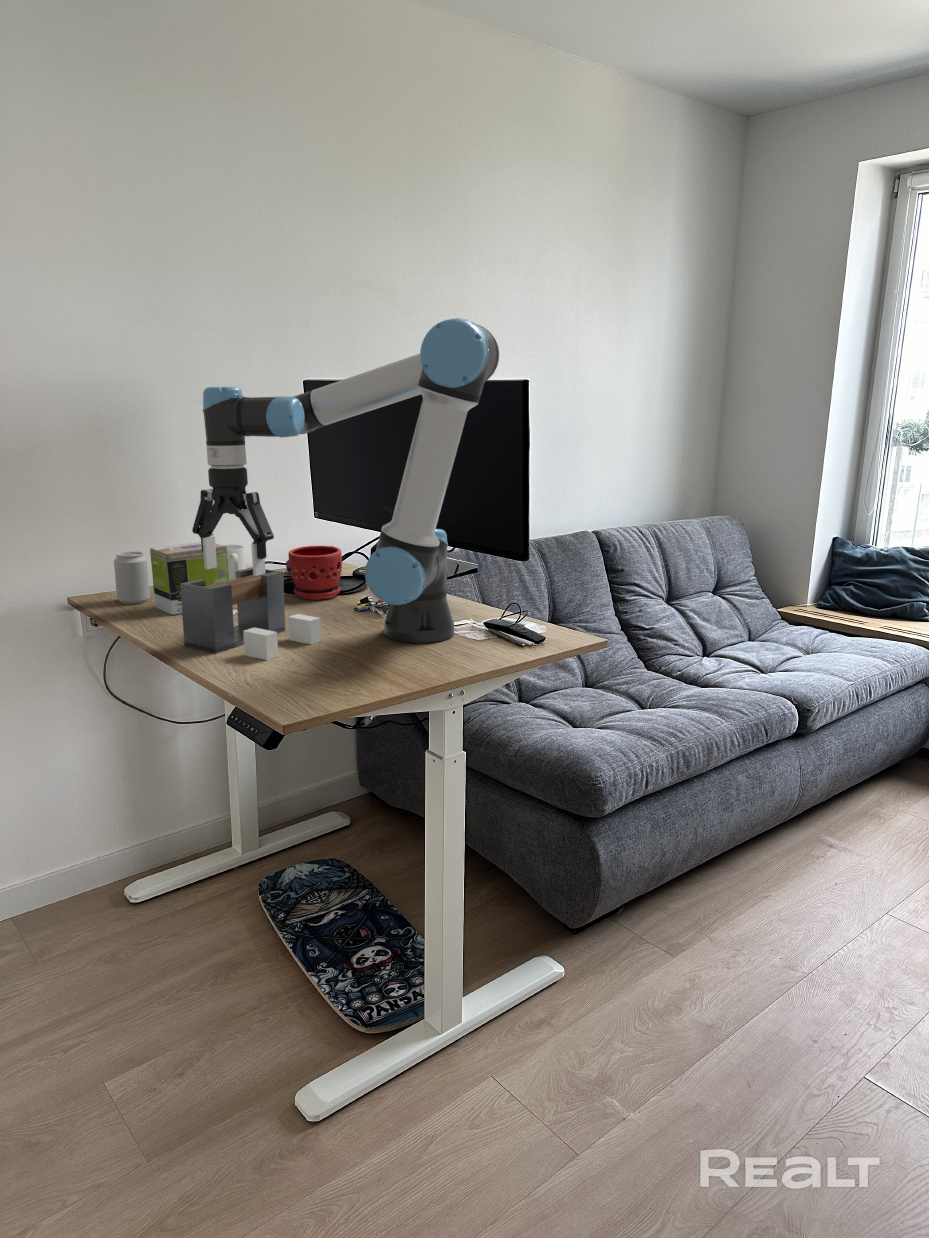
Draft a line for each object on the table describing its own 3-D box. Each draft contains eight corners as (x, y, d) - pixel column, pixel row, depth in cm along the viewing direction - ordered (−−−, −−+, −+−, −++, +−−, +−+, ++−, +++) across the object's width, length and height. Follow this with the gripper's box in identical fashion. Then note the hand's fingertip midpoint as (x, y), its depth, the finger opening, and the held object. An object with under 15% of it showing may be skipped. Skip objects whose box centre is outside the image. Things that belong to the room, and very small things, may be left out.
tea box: (213, 598, 216) (209, 540, 213) (231, 606, 209) (228, 545, 205) (153, 607, 207) (149, 546, 203) (171, 616, 200) (166, 552, 196)
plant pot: (293, 590, 226) (292, 545, 223) (344, 590, 227) (343, 545, 224) (286, 602, 214) (284, 554, 211) (340, 602, 215) (339, 554, 212)
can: (131, 606, 207) (126, 557, 204) (110, 602, 211) (106, 553, 208) (156, 600, 214) (153, 552, 211) (136, 596, 217) (132, 549, 214)
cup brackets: (285, 630, 189) (283, 571, 186) (215, 653, 172) (212, 589, 169) (255, 624, 193) (252, 567, 190) (184, 646, 176) (180, 583, 173)
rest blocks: (320, 641, 182) (320, 617, 180) (267, 660, 168) (266, 635, 167) (298, 636, 184) (297, 613, 183) (244, 655, 171) (243, 630, 170)
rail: (268, 595, 186) (267, 576, 185) (212, 610, 173) (211, 590, 172) (254, 592, 188) (253, 574, 187) (198, 607, 175) (197, 588, 174)
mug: (212, 584, 232) (210, 545, 229) (242, 582, 235) (240, 543, 232) (222, 594, 221) (219, 553, 218) (253, 591, 225) (251, 551, 222)
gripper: (169, 465, 177) (178, 568, 182) (260, 470, 164) (267, 580, 170) (197, 463, 183) (205, 562, 188) (287, 467, 171) (293, 574, 176)
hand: (234, 571), depth 179 cm, fingers open, 13 cm apart
